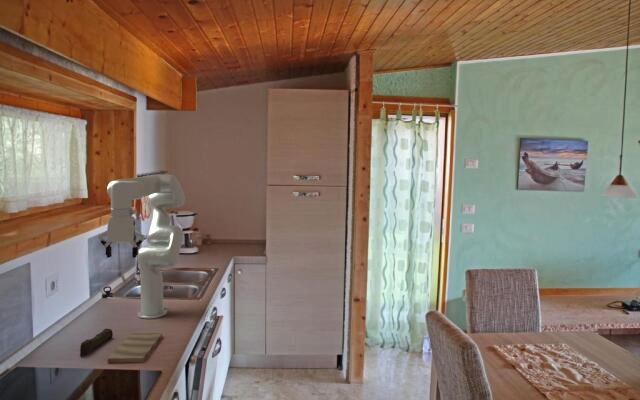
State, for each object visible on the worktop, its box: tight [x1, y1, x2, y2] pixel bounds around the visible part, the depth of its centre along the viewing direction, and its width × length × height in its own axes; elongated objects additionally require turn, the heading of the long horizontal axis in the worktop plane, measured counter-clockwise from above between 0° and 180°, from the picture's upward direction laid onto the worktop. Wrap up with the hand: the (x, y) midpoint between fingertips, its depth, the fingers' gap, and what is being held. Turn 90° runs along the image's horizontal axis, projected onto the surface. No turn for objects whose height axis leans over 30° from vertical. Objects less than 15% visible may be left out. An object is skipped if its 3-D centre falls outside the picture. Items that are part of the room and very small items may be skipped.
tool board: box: [107, 332, 163, 364], centre depth 176 cm, size 24×12×2 cm, turn 3°
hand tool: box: [79, 328, 114, 357], centre depth 178 cm, size 19×4×5 cm, turn 173°
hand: (121, 257), depth 185 cm, fingers open, 9 cm apart
